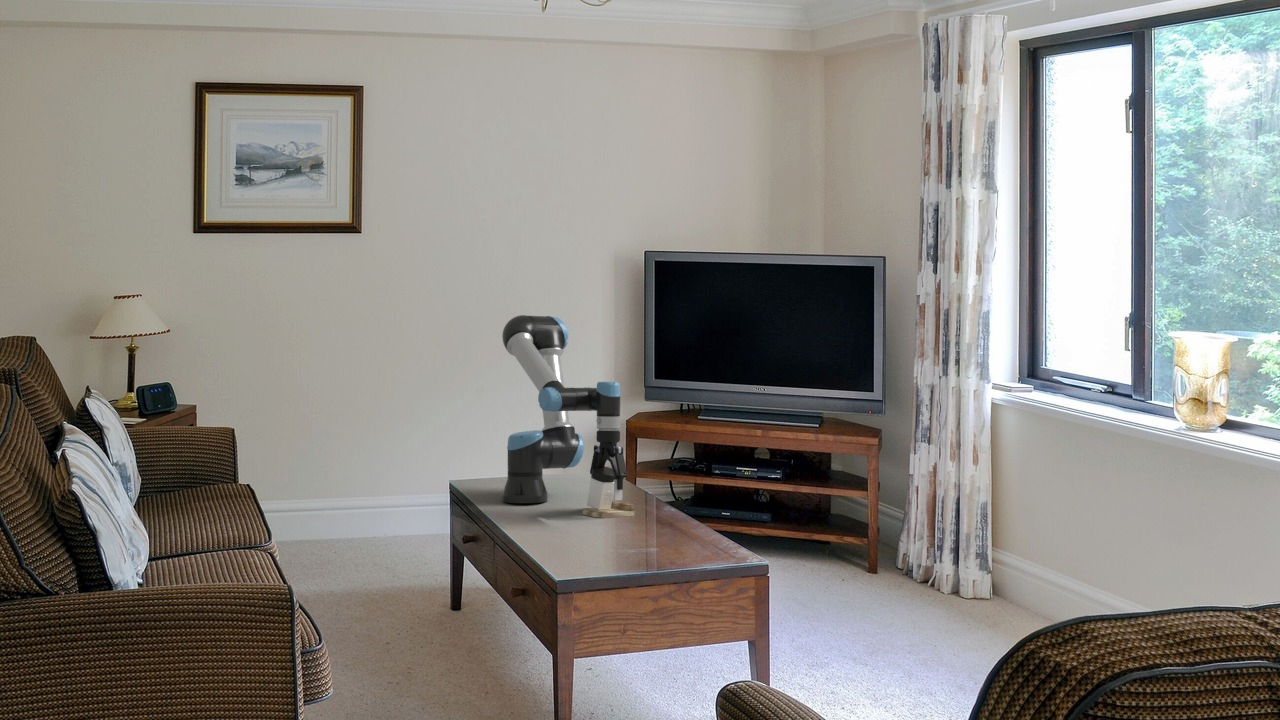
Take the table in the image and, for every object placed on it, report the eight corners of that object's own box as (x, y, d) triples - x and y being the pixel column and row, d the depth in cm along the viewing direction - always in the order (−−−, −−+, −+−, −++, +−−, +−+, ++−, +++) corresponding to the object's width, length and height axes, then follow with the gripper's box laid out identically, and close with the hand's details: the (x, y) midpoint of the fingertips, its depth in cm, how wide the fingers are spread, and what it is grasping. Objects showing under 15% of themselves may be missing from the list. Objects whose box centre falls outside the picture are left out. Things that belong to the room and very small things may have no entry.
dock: (582, 514, 350) (582, 503, 350) (613, 512, 356) (613, 501, 356) (602, 518, 340) (602, 506, 340) (634, 515, 346) (634, 504, 346)
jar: (593, 510, 347) (599, 475, 344) (580, 500, 353) (586, 466, 351) (616, 509, 352) (623, 474, 349) (603, 499, 358) (609, 465, 356)
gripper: (579, 428, 356) (579, 496, 356) (618, 431, 337) (618, 502, 336) (598, 428, 361) (598, 494, 360) (638, 430, 341) (638, 501, 340)
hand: (608, 498), depth 348 cm, fingers open, 11 cm apart
